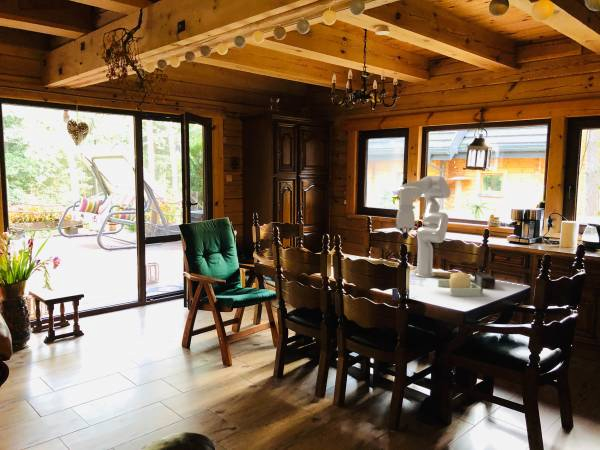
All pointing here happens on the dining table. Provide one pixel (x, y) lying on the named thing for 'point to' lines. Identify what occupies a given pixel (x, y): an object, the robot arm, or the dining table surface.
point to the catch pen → (461, 289)
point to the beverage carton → (484, 280)
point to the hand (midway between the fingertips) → (404, 239)
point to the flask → (397, 295)
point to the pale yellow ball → (459, 280)
